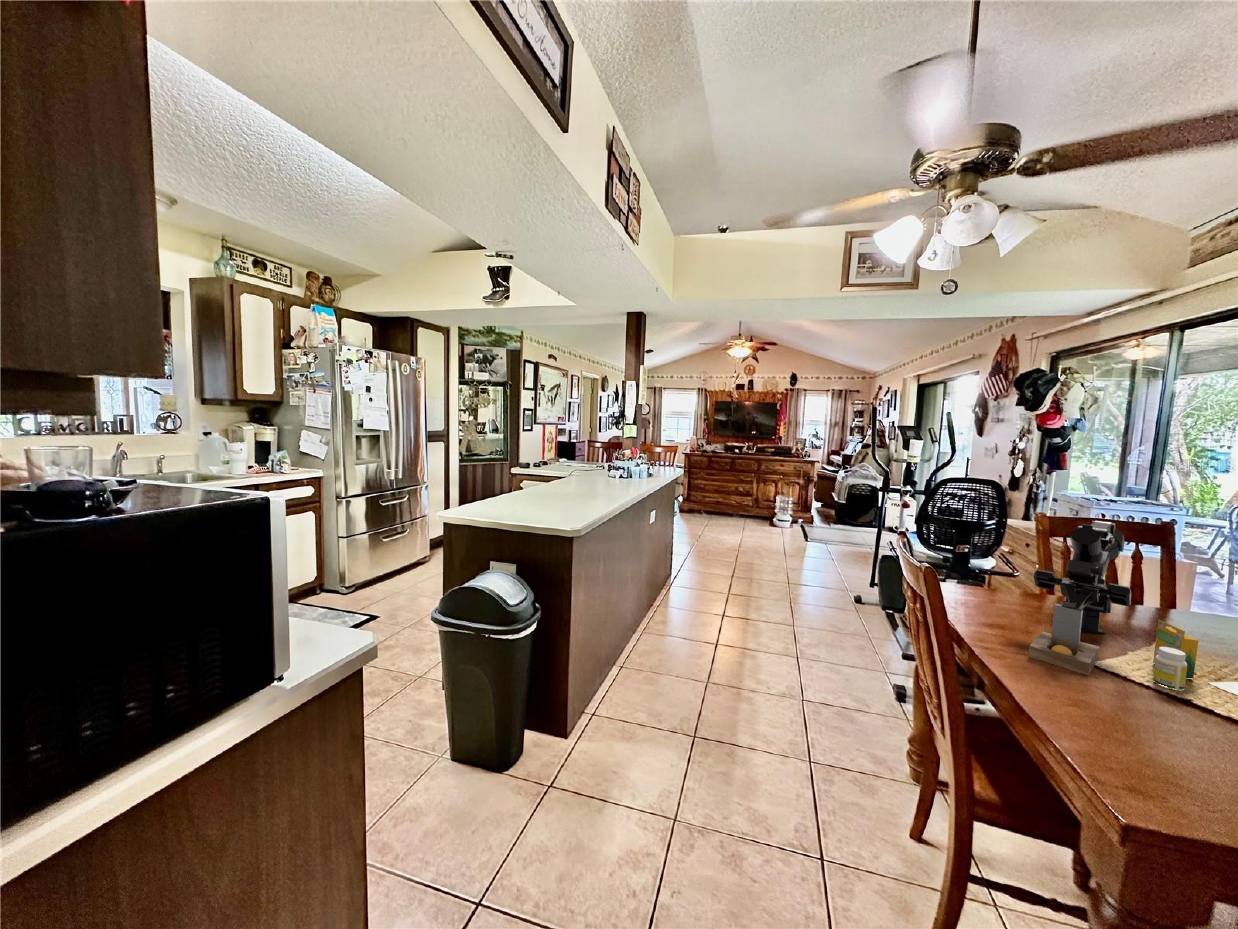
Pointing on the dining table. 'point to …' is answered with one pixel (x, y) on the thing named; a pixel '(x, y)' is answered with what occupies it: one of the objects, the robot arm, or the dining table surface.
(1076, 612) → the grey piece
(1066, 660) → the board
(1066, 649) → the ball
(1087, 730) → the dining table surface
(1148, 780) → the dining table surface
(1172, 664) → the supplement bottle
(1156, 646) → the crayon box
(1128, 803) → the dining table surface
